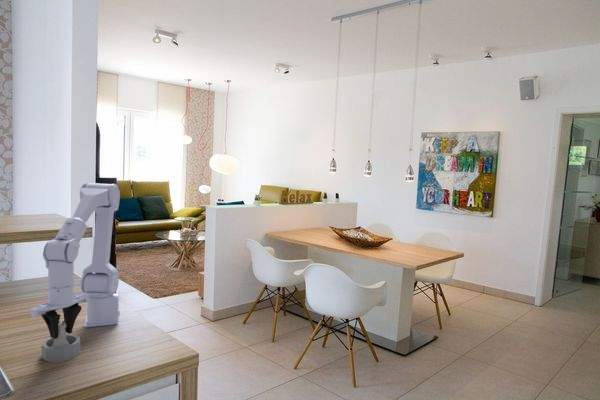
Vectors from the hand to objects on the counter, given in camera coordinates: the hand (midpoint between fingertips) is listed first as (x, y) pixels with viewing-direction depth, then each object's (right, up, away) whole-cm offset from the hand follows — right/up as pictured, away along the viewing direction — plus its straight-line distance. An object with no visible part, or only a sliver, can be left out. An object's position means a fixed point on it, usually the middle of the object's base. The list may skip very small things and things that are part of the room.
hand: (61, 334), depth 110 cm
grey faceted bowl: (0, -5, +1) cm, 5 cm away
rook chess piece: (-1, -5, +1) cm, 5 cm away
